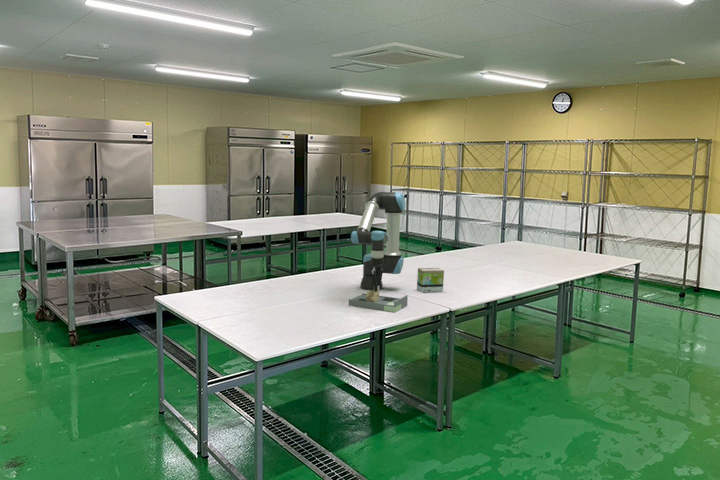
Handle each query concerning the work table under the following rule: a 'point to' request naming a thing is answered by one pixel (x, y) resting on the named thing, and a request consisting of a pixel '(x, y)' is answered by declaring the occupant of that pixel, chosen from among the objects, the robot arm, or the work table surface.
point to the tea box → (430, 279)
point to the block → (372, 296)
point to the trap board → (380, 303)
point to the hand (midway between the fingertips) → (376, 296)
